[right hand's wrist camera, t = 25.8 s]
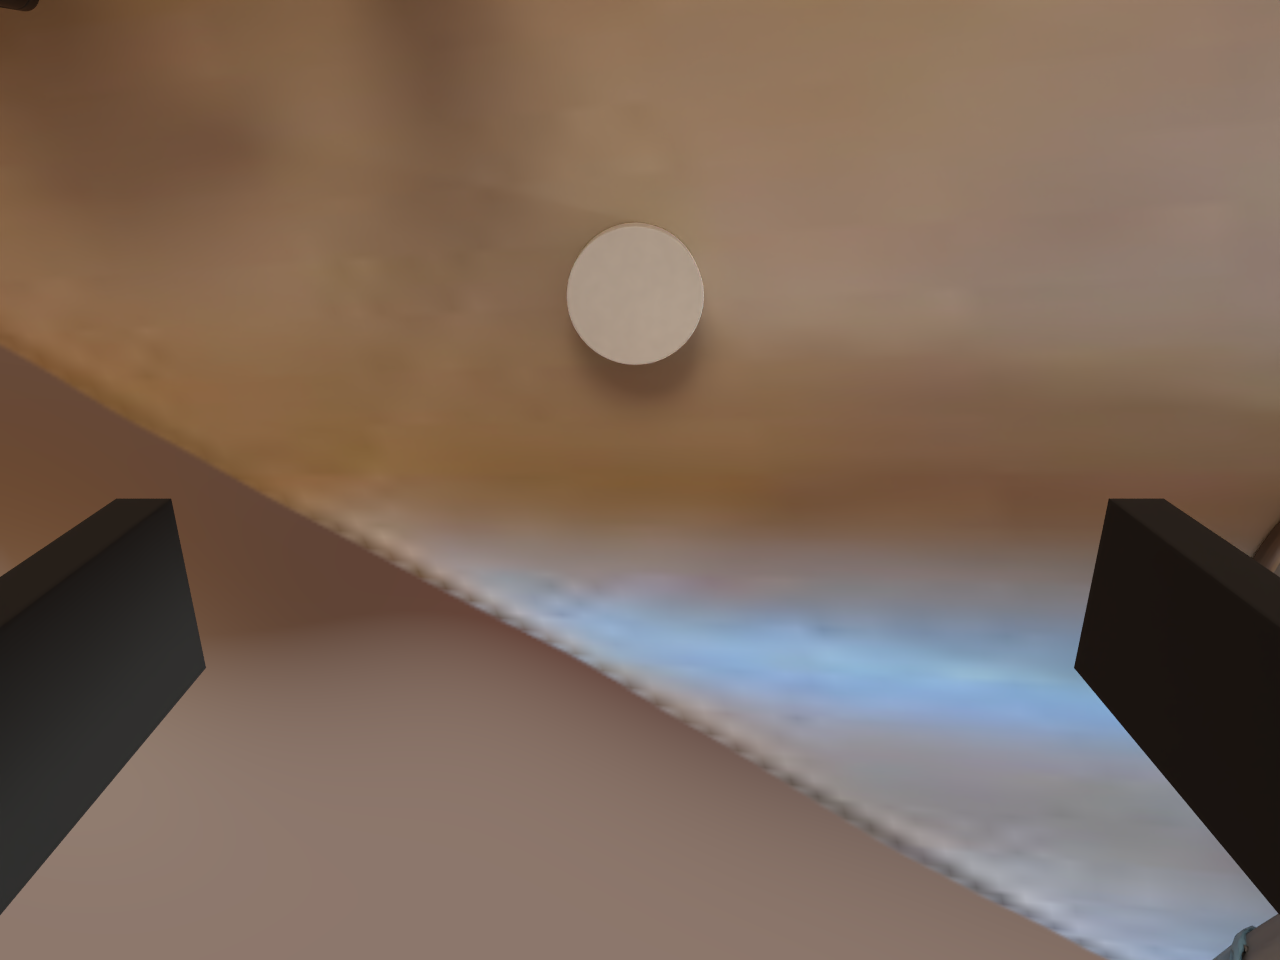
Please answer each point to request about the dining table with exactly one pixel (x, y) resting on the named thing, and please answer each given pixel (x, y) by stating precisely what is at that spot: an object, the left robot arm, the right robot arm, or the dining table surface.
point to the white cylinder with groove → (635, 294)
